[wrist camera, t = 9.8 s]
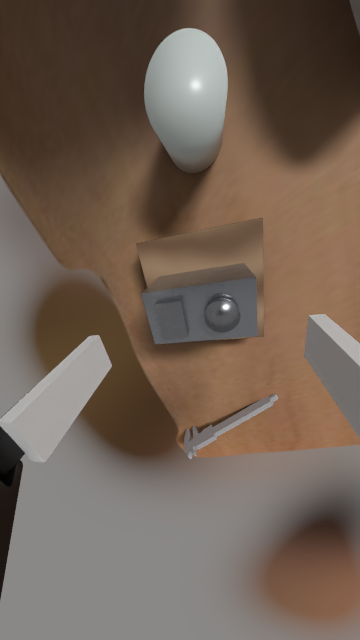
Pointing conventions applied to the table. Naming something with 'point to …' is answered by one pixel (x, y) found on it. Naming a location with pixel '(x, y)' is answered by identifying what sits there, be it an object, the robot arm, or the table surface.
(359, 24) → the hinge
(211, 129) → the pale grey pebble
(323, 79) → the table surface
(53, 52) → the table surface
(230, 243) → the stand
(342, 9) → the table surface
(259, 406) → the caliper
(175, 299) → the housing
